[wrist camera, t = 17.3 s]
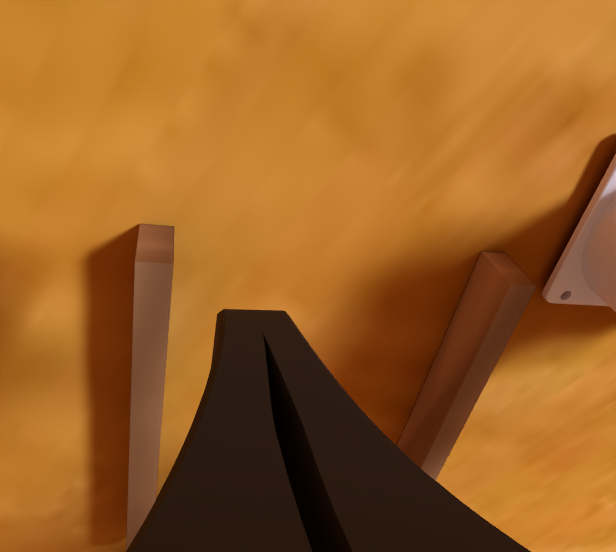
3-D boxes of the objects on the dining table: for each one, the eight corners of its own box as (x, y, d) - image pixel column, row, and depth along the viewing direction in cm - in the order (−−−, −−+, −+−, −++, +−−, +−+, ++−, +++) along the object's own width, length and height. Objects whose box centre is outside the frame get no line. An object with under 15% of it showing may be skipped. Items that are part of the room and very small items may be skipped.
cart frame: (505, 252, 23) (536, 286, 21) (388, 506, 33) (401, 545, 31) (139, 223, 19) (134, 261, 17) (129, 523, 29) (125, 569, 27)
